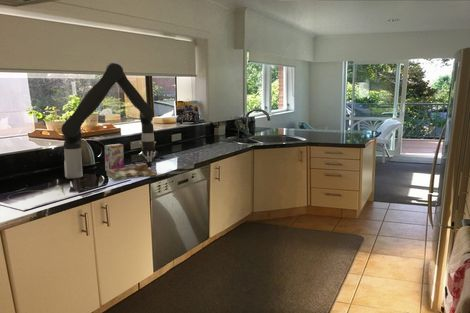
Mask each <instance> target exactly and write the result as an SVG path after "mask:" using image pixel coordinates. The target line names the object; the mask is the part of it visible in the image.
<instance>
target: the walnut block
mask: <svg viewBox="0 0 470 313" xmlns="http://www.w3.org/2000/svg"><path fill="white" fill-rule="evenodd" d="M134 167H135V170H137V171H146V170H148V165H147V164H146V162H143V163H135V164H134Z"/></svg>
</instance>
